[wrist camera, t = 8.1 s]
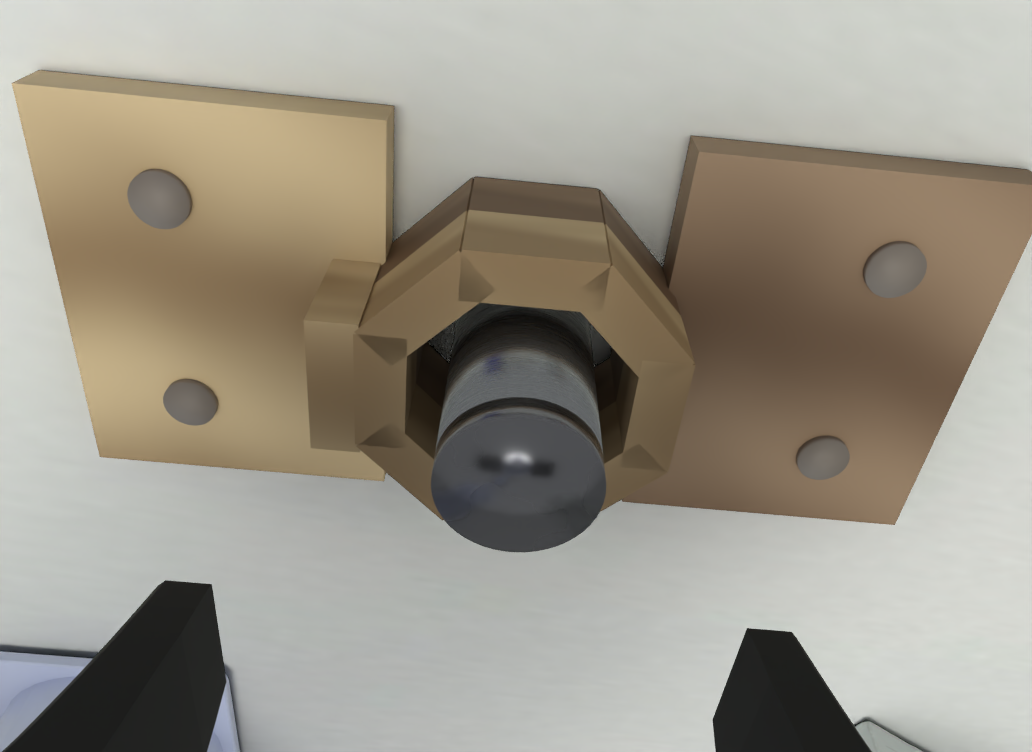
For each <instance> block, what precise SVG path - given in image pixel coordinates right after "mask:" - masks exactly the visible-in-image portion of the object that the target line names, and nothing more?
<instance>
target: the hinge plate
mask: <svg viewBox="0 0 1032 752" xmlns="http://www.w3.org/2000/svg"><path fill="white" fill-rule="evenodd" d="M469 210H476V211H487V212H497V213H507V214H518V215H528V216H538V217H549V218H559V219H569V220H580V221H590V222H600V223H604V225H605V224H606V225H607V226H608V227H609V228H610V230H611V231H612V232H613V233H614V235H615V236H616V237H617V238H618V239H619V241H620V242H621V243H622V244H623V246H624V247H625V248H626V249H627V250H628V252H629V253H630V254H631V255H632V257H633V258H634V259H635V260H636V261H637V263H638V264H639V265H640V266H641V268H642V269H643V270H644V271H645V272H646V274H647V275H648V276H649V277H650V279H651V280H652V281H653V282H654V283H655V285H656V286H657V287H658V288H659V290H660V291H661V292H662V293H663V295H664V296H665V297H666V298H667V299H668V301H669V302H670V303H671V304H672V306H673V307H674V308H675V309H676V310H677V312H678V313H679V314H680V315H681V318H682V321H683V324H684V328H685V331H686V334H687V338H688V341H689V345H690V348H691V351H692V355H693V358H694V362H695V369H694V373H693V377H692V381H691V385H690V389H689V393H688V397H687V400H686V404H685V408H684V412H683V416H682V420H681V424H680V428H679V432H678V436H677V440H676V444H675V448H674V452H673V456H672V460H671V464H670V467H669V471H668V472H667V474H665V475H663V476H661V477H660V478H658V479H656V480H654V481H653V482H651V483H649V484H647V485H646V486H644V487H642V488H640V489H639V490H637V491H635V492H634V493H632V494H630V495H628V496H627V497H625V498H623V499H622V502H633V503H645V504H657V505H668V506H680V507H692V508H703V509H715V510H727V511H738V512H750V513H762V514H774V515H785V516H797V517H809V518H820V519H832V520H844V521H855V522H867V523H879V524H891V525H895V523H896V521H897V519H898V517H899V515H900V512H901V510H902V508H903V506H904V504H905V502H906V500H907V498H908V495H909V493H910V491H911V489H912V487H913V485H914V483H915V481H916V478H917V476H918V474H919V472H920V470H921V468H922V466H923V464H924V462H925V459H926V457H927V455H928V453H929V451H930V449H931V447H932V445H933V442H934V440H935V438H936V436H937V434H938V432H939V430H940V428H941V425H942V423H943V421H944V419H945V417H946V415H947V413H948V411H949V409H950V406H951V404H952V402H953V400H954V398H955V396H956V394H957V392H958V389H959V387H960V385H961V383H962V381H963V379H964V377H965V375H966V372H967V370H968V368H969V366H970V364H971V362H972V360H973V358H974V355H975V353H976V351H977V349H978V347H979V345H980V343H981V341H982V339H983V336H984V334H985V332H986V330H987V328H988V326H989V324H990V322H991V319H992V317H993V315H994V313H995V311H996V309H997V307H998V305H999V302H1000V300H1001V298H1002V296H1003V294H1004V292H1005V290H1006V288H1007V285H1008V283H1009V281H1010V279H1011V277H1012V275H1013V273H1014V271H1015V269H1016V266H1017V264H1018V262H1019V260H1020V258H1021V256H1022V254H1023V252H1024V249H1025V247H1026V245H1027V243H1028V241H1029V239H1030V237H1031V235H1032V172H1031V171H1030V170H1027V169H1017V168H1007V167H997V166H987V165H977V164H967V163H957V162H947V161H937V160H927V159H917V158H907V157H897V156H887V155H877V154H867V153H858V152H848V151H838V150H828V149H818V148H808V147H798V146H788V145H778V144H768V143H758V142H748V141H738V140H728V139H718V138H708V137H698V136H691V138H690V143H689V147H688V152H687V157H686V161H685V166H684V171H683V176H682V180H681V185H680V190H679V195H678V199H677V204H676V209H675V213H674V218H673V223H672V228H671V232H670V237H669V242H668V247H667V251H666V256H665V261H664V265H663V268H662V267H661V265H660V264H659V263H658V262H657V260H656V259H655V258H654V257H653V255H652V254H651V253H650V252H649V250H648V249H647V248H646V247H645V245H644V244H643V243H642V242H641V240H640V239H639V238H638V237H637V236H636V234H635V233H634V232H633V231H632V229H631V228H630V227H629V226H628V224H627V223H626V222H625V221H624V219H623V218H622V217H621V216H620V214H619V213H618V212H617V211H616V209H615V208H614V207H613V206H612V204H611V203H610V202H609V201H608V199H607V198H606V197H605V196H604V194H603V193H602V192H601V191H600V190H599V191H598V189H594V188H583V187H573V186H563V185H553V184H543V183H532V182H522V181H512V180H502V179H492V178H481V177H475V178H474V179H473V178H471V179H470V180H469V181H468V182H466V183H465V184H464V185H463V186H461V187H460V188H459V189H458V190H457V191H455V192H454V193H453V194H452V195H450V196H449V197H448V198H447V199H446V200H444V201H443V202H442V203H441V204H439V205H438V206H437V207H436V208H434V209H433V210H432V211H431V212H430V213H428V214H427V215H426V216H425V217H423V218H422V219H421V220H420V221H418V222H417V223H416V224H415V225H414V226H412V227H411V228H410V229H409V230H407V231H406V232H405V233H404V234H403V235H401V236H400V237H399V238H398V239H396V240H395V241H394V242H393V243H392V245H391V248H390V251H389V254H388V257H387V260H386V262H385V263H384V264H383V265H382V266H381V267H380V270H379V272H378V275H377V278H376V281H375V283H376V282H377V281H379V280H380V279H381V278H382V277H384V276H385V275H386V274H387V273H389V272H390V271H391V270H392V269H394V268H395V267H396V266H397V265H399V264H400V263H401V262H402V261H404V260H405V259H406V258H407V257H409V256H410V255H411V254H412V253H414V252H415V251H416V250H417V249H419V248H420V247H421V246H422V245H424V244H425V243H426V242H427V241H429V240H430V239H431V238H432V237H434V236H435V235H436V234H437V233H439V232H440V231H441V230H443V229H444V228H445V227H446V226H448V225H449V224H450V223H451V222H453V221H454V220H455V219H456V218H458V217H459V216H460V215H461V214H463V213H464V212H465V211H467V212H468V211H469ZM623 363H624V360H623V359H622V358H621V357H620V356H619V355H618V353H617V352H616V351H615V350H614V349H613V348H612V350H611V355H610V358H609V359H607V360H606V361H604V362H603V363H601V364H599V365H598V366H596V367H595V368H594V374H595V383H596V392H597V402H598V411H599V412H600V411H601V410H603V409H604V408H606V407H608V406H609V405H611V404H612V403H614V402H615V401H616V399H617V394H618V389H619V384H620V378H621V373H622V368H623ZM449 365H450V364H449V363H448V362H446V361H445V360H444V359H443V358H442V357H441V356H440V355H439V354H438V353H437V352H436V351H435V350H434V349H433V348H432V347H431V346H430V345H429V344H428V343H427V342H426V343H424V344H423V345H422V346H420V347H419V348H418V349H417V364H416V384H417V385H418V386H419V387H420V388H421V389H423V390H424V391H425V392H426V393H427V394H428V395H429V396H430V397H431V398H432V399H433V400H434V401H435V402H436V403H437V404H438V405H440V406H441V407H442V408H443V401H444V395H445V389H446V383H447V377H448V371H449Z"/></svg>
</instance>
